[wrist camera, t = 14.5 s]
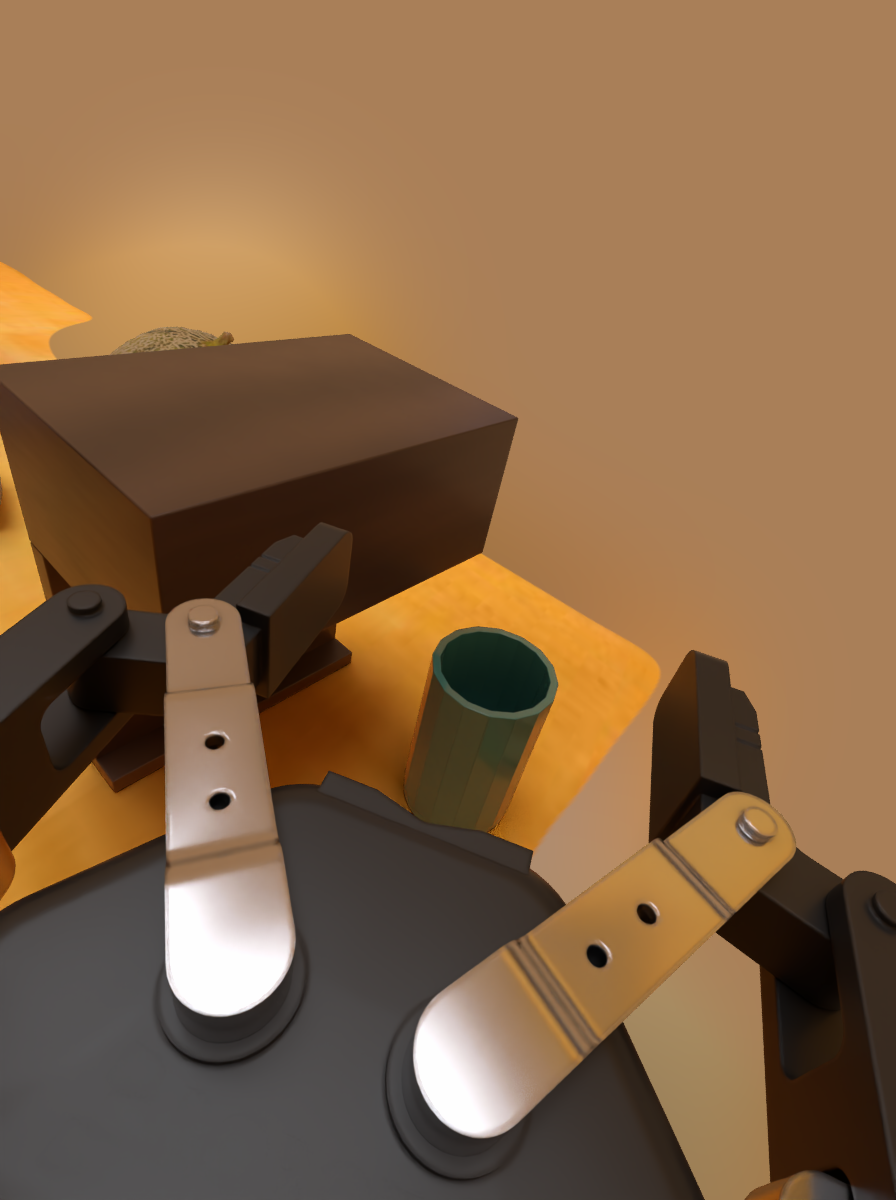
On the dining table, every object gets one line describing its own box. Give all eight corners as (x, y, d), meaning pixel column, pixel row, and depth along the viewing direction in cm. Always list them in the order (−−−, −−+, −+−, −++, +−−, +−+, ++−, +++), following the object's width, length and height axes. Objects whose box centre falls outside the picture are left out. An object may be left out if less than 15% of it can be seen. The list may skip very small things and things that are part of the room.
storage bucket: (381, 784, 35) (406, 659, 29) (451, 730, 39) (486, 611, 33) (460, 861, 32) (506, 741, 26) (527, 794, 36) (580, 677, 30)
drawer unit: (88, 756, 33) (-19, 365, 20) (341, 629, 45) (374, 331, 32) (199, 908, 28) (149, 518, 15) (451, 721, 40) (541, 411, 27)
